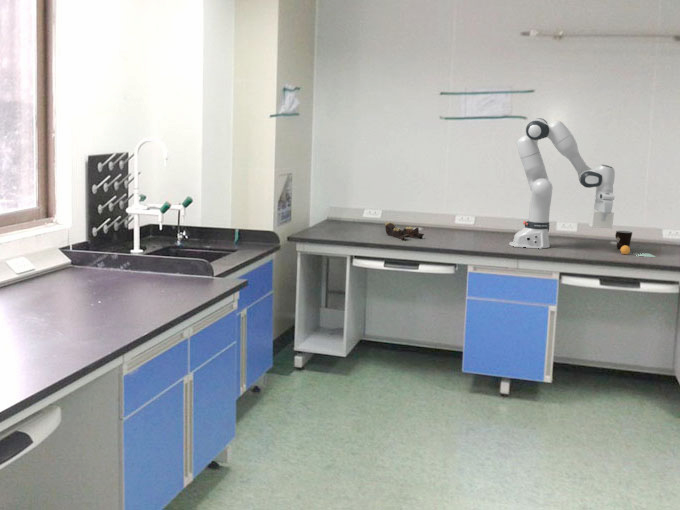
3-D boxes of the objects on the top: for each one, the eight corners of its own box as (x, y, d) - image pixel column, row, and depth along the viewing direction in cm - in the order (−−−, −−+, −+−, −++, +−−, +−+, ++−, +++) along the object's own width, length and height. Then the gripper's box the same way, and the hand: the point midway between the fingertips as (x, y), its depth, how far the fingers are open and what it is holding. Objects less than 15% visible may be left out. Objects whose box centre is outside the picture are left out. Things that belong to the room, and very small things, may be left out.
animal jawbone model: (404, 238, 484) (408, 222, 483) (425, 247, 463) (429, 230, 461) (380, 233, 476) (384, 217, 474) (400, 242, 455) (405, 226, 453)
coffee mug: (631, 250, 445) (633, 233, 443) (615, 249, 446) (617, 232, 445) (628, 247, 456) (630, 230, 454) (613, 246, 458) (614, 229, 456)
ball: (621, 255, 429) (622, 246, 428) (618, 253, 434) (619, 244, 433) (631, 255, 429) (631, 246, 428) (627, 253, 434) (628, 244, 433)
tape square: (637, 256, 426) (637, 256, 426) (631, 253, 436) (631, 252, 436) (655, 257, 426) (655, 256, 426) (649, 253, 436) (649, 253, 436)
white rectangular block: (592, 227, 433) (594, 211, 432) (588, 225, 440) (590, 210, 438) (612, 228, 433) (613, 212, 431) (608, 226, 440) (609, 211, 438)
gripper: (592, 192, 443) (590, 217, 446) (603, 196, 423) (600, 222, 426) (604, 193, 443) (601, 217, 446) (615, 197, 423) (612, 222, 426)
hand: (601, 219), depth 436 cm, fingers closed on white rectangular block, 7 cm apart
